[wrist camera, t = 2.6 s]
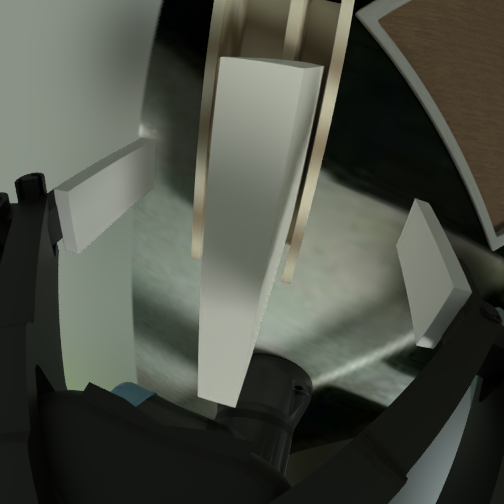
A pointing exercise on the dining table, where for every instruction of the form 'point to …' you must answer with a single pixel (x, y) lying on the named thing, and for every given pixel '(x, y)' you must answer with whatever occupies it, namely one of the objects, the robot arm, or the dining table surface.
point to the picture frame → (455, 85)
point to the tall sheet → (249, 206)
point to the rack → (284, 48)
